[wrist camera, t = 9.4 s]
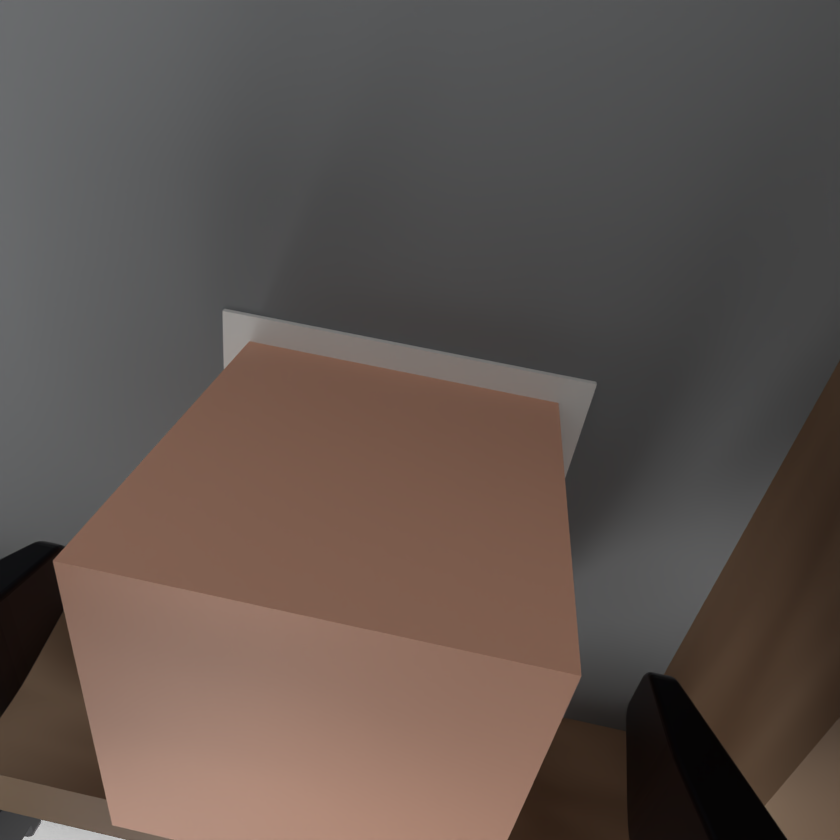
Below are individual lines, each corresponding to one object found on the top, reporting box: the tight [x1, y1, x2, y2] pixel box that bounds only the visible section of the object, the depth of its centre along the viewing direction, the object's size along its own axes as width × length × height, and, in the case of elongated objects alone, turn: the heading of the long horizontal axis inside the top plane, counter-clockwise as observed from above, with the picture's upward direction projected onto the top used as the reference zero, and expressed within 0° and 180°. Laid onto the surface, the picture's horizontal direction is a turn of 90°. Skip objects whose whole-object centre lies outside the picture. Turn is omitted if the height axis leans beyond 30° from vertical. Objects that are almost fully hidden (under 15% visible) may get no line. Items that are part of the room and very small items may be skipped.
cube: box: [53, 341, 581, 840], centre depth 10 cm, size 6×6×6 cm
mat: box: [0, 0, 840, 731], centre depth 11 cm, size 24×20×1 cm
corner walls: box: [0, 361, 840, 840], centre depth 10 cm, size 24×20×4 cm
